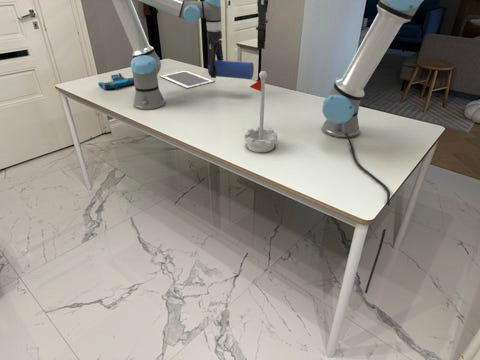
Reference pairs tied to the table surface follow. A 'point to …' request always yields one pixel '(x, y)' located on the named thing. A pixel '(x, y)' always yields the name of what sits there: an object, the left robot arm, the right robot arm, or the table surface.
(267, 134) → the flag stand
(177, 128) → the table surface
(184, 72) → the tablet
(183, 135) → the table surface
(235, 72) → the rod
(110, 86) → the submachine gun
